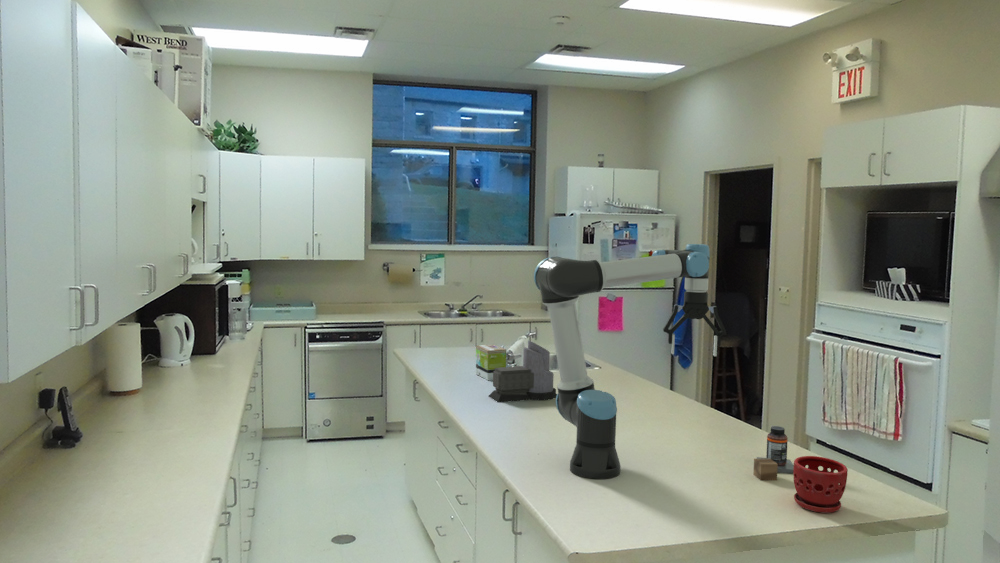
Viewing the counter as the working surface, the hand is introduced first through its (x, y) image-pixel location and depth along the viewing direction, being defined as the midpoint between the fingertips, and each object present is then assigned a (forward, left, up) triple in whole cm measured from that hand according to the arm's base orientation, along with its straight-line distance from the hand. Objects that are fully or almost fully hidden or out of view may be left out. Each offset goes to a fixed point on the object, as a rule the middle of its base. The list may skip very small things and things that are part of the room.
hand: (693, 354), depth 240 cm
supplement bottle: (-13, -25, -31) cm, 42 cm away
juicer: (+58, +65, -32) cm, 93 cm away
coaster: (-13, -25, -32) cm, 43 cm away
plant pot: (-45, -30, -32) cm, 63 cm away
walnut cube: (-24, -20, -32) cm, 45 cm away
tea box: (+94, +87, -32) cm, 132 cm away
